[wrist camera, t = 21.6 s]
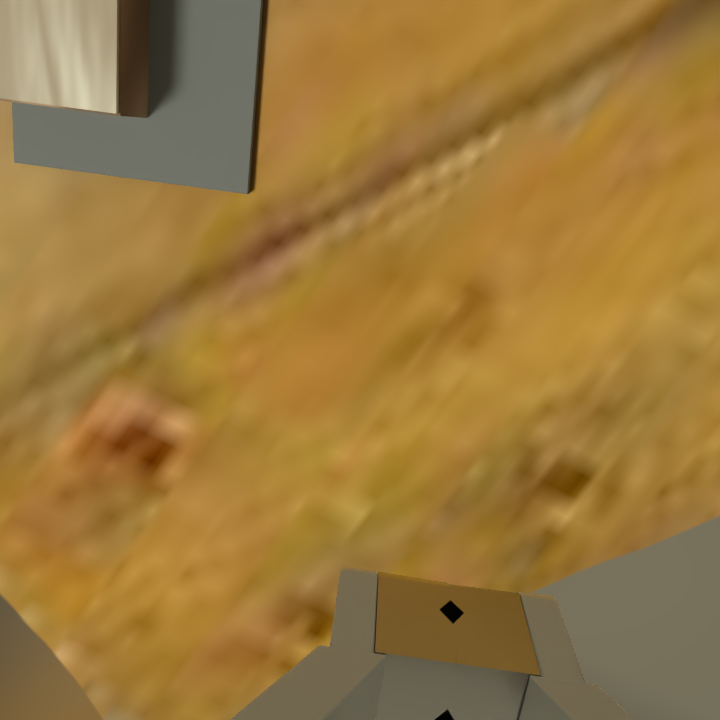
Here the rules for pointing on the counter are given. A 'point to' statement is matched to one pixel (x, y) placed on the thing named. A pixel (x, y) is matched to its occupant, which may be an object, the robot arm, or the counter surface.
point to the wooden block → (76, 54)
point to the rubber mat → (168, 106)
